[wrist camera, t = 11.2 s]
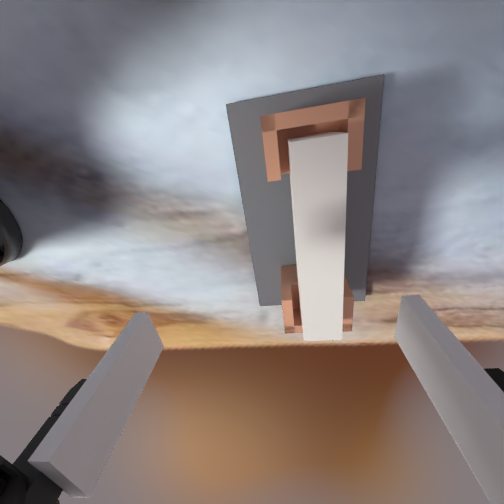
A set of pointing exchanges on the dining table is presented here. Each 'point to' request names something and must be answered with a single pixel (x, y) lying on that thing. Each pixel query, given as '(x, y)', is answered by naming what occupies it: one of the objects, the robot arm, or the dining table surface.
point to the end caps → (279, 188)
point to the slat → (319, 229)
